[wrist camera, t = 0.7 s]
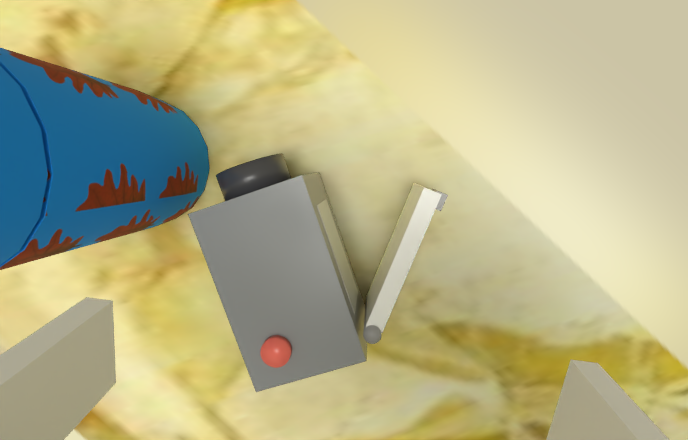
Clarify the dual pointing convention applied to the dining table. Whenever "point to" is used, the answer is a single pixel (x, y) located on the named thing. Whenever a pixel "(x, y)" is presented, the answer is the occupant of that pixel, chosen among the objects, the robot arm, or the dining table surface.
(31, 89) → the thermos
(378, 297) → the side door
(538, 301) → the dining table surface
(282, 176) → the camera body
